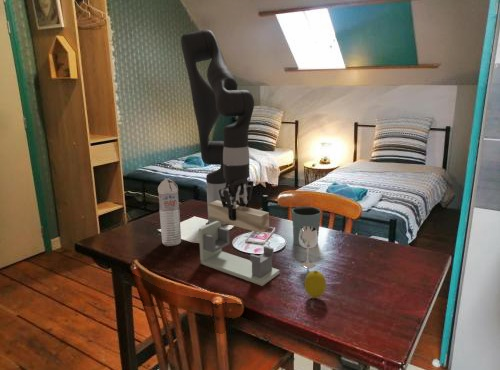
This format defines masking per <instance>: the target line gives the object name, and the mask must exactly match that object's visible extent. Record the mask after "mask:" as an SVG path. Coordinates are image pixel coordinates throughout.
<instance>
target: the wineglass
mask: <svg viewBox="0 0 500 370" xmlns="http://www.w3.org/2000/svg"><path fill="white" fill-rule="evenodd" d="M318 237H319V235H318V236H317V231H316V228H315V227H311V226H304V227H302V228H301V230H300V234H299V243H300V245H301V246H302V247H301V248H303V249H306V250H305V251H306V260H305V261H302V262H300V266H301V267H303V268H305V269H309V268H310V269H312V268H314V267H315V266H316V265H315V263H314V262H313V261H309V254H310V252H311V251H310V249H314V248H315V247H316V246H317V245H318V243H319V242H318V241H319V238H318ZM317 242H318V243H317Z"/></svg>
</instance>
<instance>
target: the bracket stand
mask: <svg viewBox="0 0 500 370" xmlns="http://www.w3.org/2000/svg"><path fill="white" fill-rule="evenodd" d="M198 239H199V259H200V265H204V266H205V267H208V268H211V269H215V270H217V271H220V272H222V273H225V274H229V275H230V276H234V277H237V278H240V279H243V280H245V281H247V282H250V283H252V284H255V285H259V286H261V287H264V286H265V285H266V284H267V283H268V282H270V281H272V279H274V278H275V277H277V276H278V275H279V274H280V269H277V268H274V267H273V256H274V253H275V251H274V250H275V249H274V248H273V247H270V246H264V245H263V253H262V254H259V255H256V254H253V253H251V254H249V259H247V258H245V257H244V258H243V257H241V256H238V255H235V254H231V253H228V252H226V251H223V248H225V247H227V246H229V245H230V244H231V243H230V240H231V239H230V229H228V228H224V227H222V225H221V222H219V221H215V222H212V223H210V224H209V223H208V224H206V225H204V226H201V227H199V228H198Z"/></svg>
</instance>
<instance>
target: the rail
mask: <svg viewBox="0 0 500 370" xmlns="http://www.w3.org/2000/svg"><path fill="white" fill-rule="evenodd" d="M226 203H227V202H226ZM208 207H209V219H212V220H215V221H219V222H222V223H226V225H231V226H234V227H237V228H241V229H244V230H249V231H251V232H252V231H255V232H254V233H259V234H262V233H264V232H266V231H268V230H270V228H269V227H270V212H269V211H264V210H260V209H256V208H251V207H247V206H246V207H243V206H239V204H236V220H235V221H232V220H230V219H229V215H228V208H225V207H223V205H222V202H221V201H218V200H216V201H214V202H211V203H208V205H207V208H208Z"/></svg>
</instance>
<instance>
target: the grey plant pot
mask: <svg viewBox="0 0 500 370" xmlns="http://www.w3.org/2000/svg"><path fill="white" fill-rule="evenodd" d="M321 216H322V210H321V209H319V208H318V207H315V206H308V205H307V206H306V205H305V206H297V207H293V208H292V209H291V218H292V220H291V221H292V232H293V233H292V235H293V238H292V240H293V244H294V245H295V246H297V247H300V248H303V247H302V246H301V245H300V243H299V234H300V230H301V228H302V227H304V226H311V227H315V228H316V231H317V236H318V237H319V231H320V222H321ZM318 243H319V242H317V244H318Z"/></svg>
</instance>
